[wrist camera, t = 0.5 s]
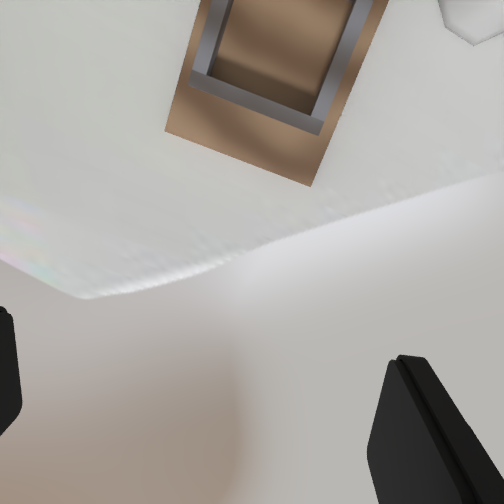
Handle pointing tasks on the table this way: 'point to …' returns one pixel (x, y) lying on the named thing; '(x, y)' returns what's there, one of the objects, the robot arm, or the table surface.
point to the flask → (473, 18)
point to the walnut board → (272, 78)
